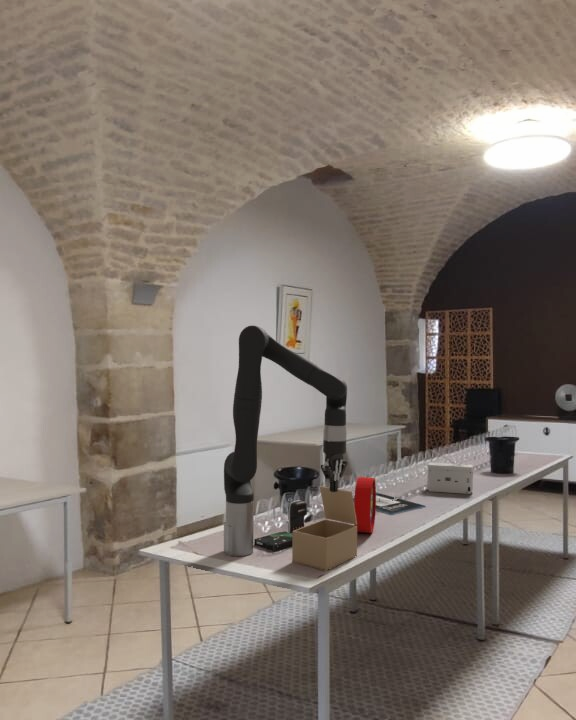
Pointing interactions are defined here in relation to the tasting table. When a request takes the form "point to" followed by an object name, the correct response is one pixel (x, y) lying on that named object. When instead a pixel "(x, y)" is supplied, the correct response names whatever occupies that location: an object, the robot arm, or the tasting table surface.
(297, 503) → the battery
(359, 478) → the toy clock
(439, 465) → the stereo radio cassette player
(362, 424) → the tasting table surface
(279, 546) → the disk drive
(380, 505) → the sketchbook
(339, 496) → the carton flap
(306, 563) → the carton
